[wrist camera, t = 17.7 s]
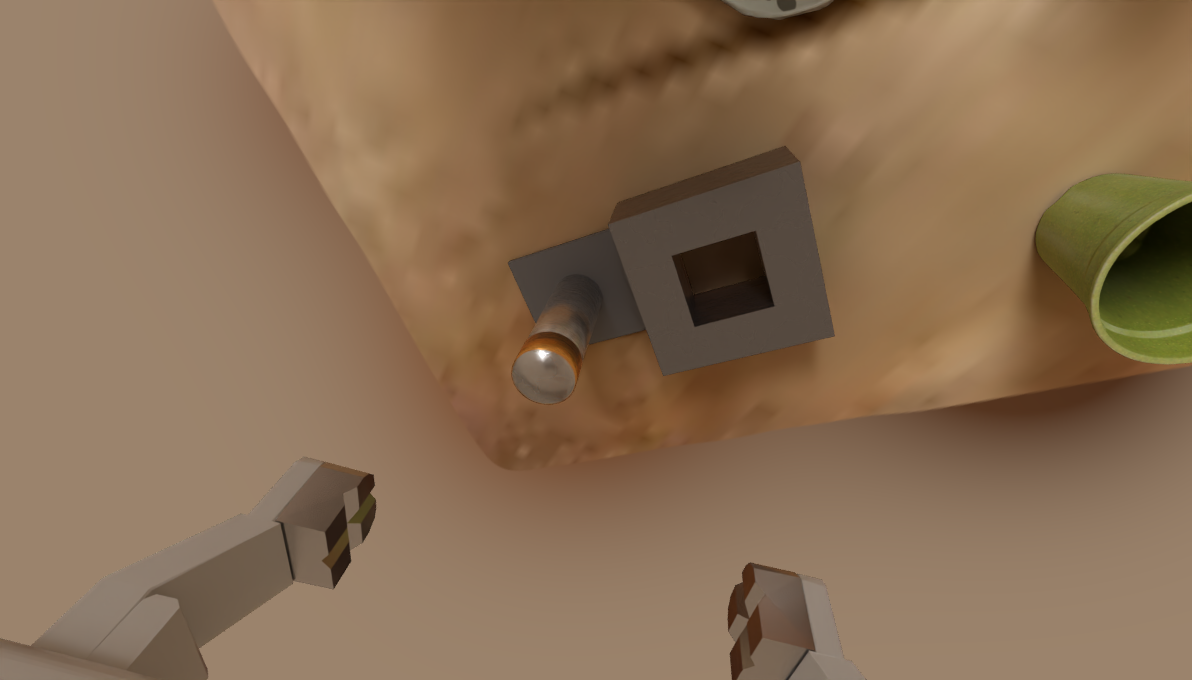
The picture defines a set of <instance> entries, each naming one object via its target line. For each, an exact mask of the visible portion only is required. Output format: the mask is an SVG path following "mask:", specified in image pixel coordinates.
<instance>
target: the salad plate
mask: <svg viewBox="0 0 1192 680" xmlns="http://www.w3.org/2000/svg"><path fill="white" fill-rule="evenodd" d="M721 1H723V2H724V3H726V4H728V5H729V6H731V7H732V8H734V9H735V10H737V11H738V12H740V13H742V14H743V15H746V16H753V17H755V18H771V19H776V20H782V19H785V18H788V17H792V16H795V15H801V14H804V13H807V12H812V11H817V10H820V9H822V8H824V7H827V6H828V5H829V4H830V3H832V2H833V1H834V0H721Z"/></svg>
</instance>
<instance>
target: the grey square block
mask: <svg viewBox="0 0 1192 680" xmlns="http://www.w3.org/2000/svg"><path fill="white" fill-rule="evenodd" d="M608 226H609V229H610V232H611V235H612V237H613V240H614V243H615V245H616V248H617V251H618V254H619V256H620V259H621V262H622V265H623V267H624V270H625V273H626V275H627V278H628V281H629V284H630V286H631V289H632V292H633V295H634V297H635V300H636V303H637V306H638V308H639V311H640V314H641V316H642V319H643V322H644V325H645V327H646V330H647V333H648V336H649V338H650V341H651V344H652V347H653V349H654V352H655V355H656V357H657V360H658V363H659V366H660V368H661V371H662V374H663V376H665V375H669V374H674V373H678V372H682V371H687V370H691V369H695V368H700V367H704V366H708V365H713V364H717V363H721V362H725V361H730V360H734V359H738V358H743V357H747V356H751V355H756V354H760V353H764V352H768V351H773V350H777V349H781V348H786V347H790V346H794V345H799V344H803V343H807V342H811V341H816V340H820V339H824V338H829V337H833V336H835V335H834V330H833V325H832V320H831V315H830V310H829V305H828V300H827V295H826V290H825V284H824V279H823V274H822V269H821V264H820V259H819V254H818V249H817V244H816V239H815V234H814V229H813V224H812V219H811V214H810V209H809V204H808V199H807V194H806V189H805V184H804V179H803V174H802V169H801V164H800V161H799V160H798V159H797V158H796V157H795V156H794V155H793V154H792V153H791V152H790V151H789V149H788V148H787V147H786V146H784V147H781V148H778V149H775V150H772V151H769V152H766V153H763V154H760V155H757V156H754V157H751V158H748V159H745V160H742V161H739V162H736V163H733V164H731V165H728V166H725V167H722V168H719V169H716V170H713V171H710V172H707V173H704V174H701V175H698V176H695V177H692V178H689V179H686V180H683V181H680V182H677V183H675V184H672V185H669V186H666V187H663V188H660V189H657V190H654V191H651V192H648V193H645V194H642V195H639V196H636V197H633V198H630V199H627V200H624V201H621V202H619V203H617V205H616V207H615V209H614V212H613V214H612V216H611V218H610V221H609V223H608ZM749 232H754V236H755V240H756V244H757V248H758V252H759V256H760V260H761V264H762V268H763V272H764V276H762V277H758V278H755V279H751V280H747V281H744V282H740V283H736V284H733V285H729V286H725V287H722V288H718V289H714V290H711V291H707V292H703V293H700V294H696V295H693V292H692V288H691V285H690V282H689V279H688V276H687V272H686V269H685V266H684V263H683V260H682V257H681V253H683V252H686V251H689V250H693V249H696V248H699V247H703V246H706V245H709V244H713V243H716V242H719V241H723V240H726V239H729V238H733V237H736V236H739V235H743V234H746V233H749Z"/></svg>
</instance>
